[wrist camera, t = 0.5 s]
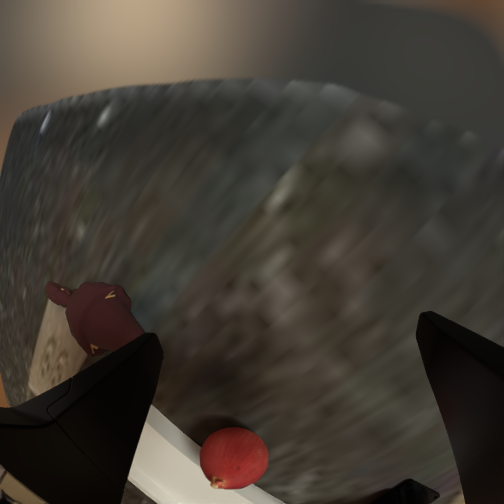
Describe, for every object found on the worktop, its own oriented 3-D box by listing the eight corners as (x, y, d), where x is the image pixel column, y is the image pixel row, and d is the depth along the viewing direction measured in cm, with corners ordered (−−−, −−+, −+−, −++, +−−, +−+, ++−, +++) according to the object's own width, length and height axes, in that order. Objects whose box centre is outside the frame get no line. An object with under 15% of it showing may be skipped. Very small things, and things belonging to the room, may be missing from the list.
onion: (284, 453, 22) (263, 511, 15) (231, 458, 24) (199, 508, 16) (265, 407, 23) (236, 462, 15) (209, 414, 24) (168, 461, 17)
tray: (287, 504, 22) (282, 519, 20) (224, 531, 25) (218, 542, 22) (145, 398, 26) (131, 407, 24) (110, 443, 29) (99, 452, 26)
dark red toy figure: (152, 314, 18) (49, 248, 24) (122, 404, 17) (29, 315, 22) (197, 319, 25) (94, 264, 30) (170, 390, 24) (75, 321, 29)
